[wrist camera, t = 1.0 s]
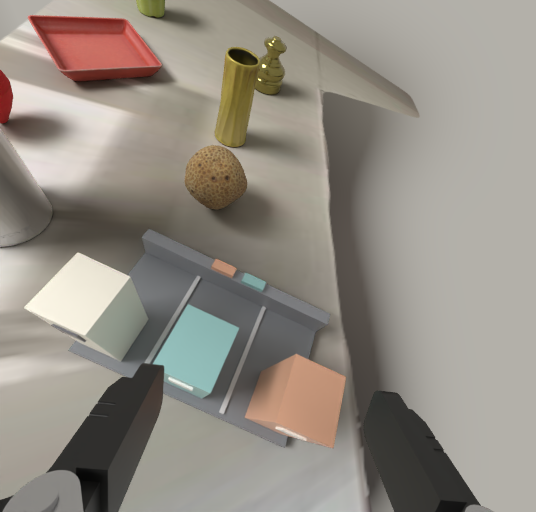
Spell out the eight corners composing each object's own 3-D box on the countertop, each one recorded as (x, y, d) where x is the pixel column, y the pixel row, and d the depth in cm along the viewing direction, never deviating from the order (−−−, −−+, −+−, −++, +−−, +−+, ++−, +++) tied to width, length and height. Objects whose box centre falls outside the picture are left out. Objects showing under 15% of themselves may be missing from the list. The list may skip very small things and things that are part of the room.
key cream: (119, 363, 28) (83, 337, 18) (80, 345, 28) (21, 309, 18) (148, 319, 31) (130, 276, 21) (112, 303, 31) (77, 252, 21)
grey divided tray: (281, 446, 29) (299, 453, 25) (72, 352, 29) (50, 341, 24) (314, 324, 38) (332, 312, 33) (152, 248, 37) (148, 225, 32)
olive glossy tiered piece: (285, 88, 66) (299, 42, 58) (270, 99, 62) (283, 51, 54) (260, 73, 67) (271, 25, 59) (244, 83, 63) (253, 33, 55)
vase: (221, 122, 54) (232, 40, 42) (249, 134, 54) (268, 57, 42) (209, 138, 50) (216, 55, 38) (239, 152, 51) (255, 73, 39)
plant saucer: (128, 34, 61) (126, 16, 58) (164, 81, 56) (163, 64, 53) (34, 35, 52) (25, 14, 50) (66, 91, 47) (59, 71, 45)
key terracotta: (281, 436, 29) (332, 451, 19) (243, 419, 29) (275, 425, 19) (295, 386, 32) (346, 376, 22) (261, 371, 31) (296, 353, 21)
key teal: (201, 400, 28) (209, 395, 18) (162, 382, 28) (149, 369, 18) (222, 353, 31) (239, 327, 21) (187, 337, 31) (188, 304, 21)
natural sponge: (171, 194, 42) (167, 141, 34) (214, 173, 47) (221, 121, 38) (208, 233, 40) (214, 187, 32) (250, 207, 45) (265, 161, 37)
